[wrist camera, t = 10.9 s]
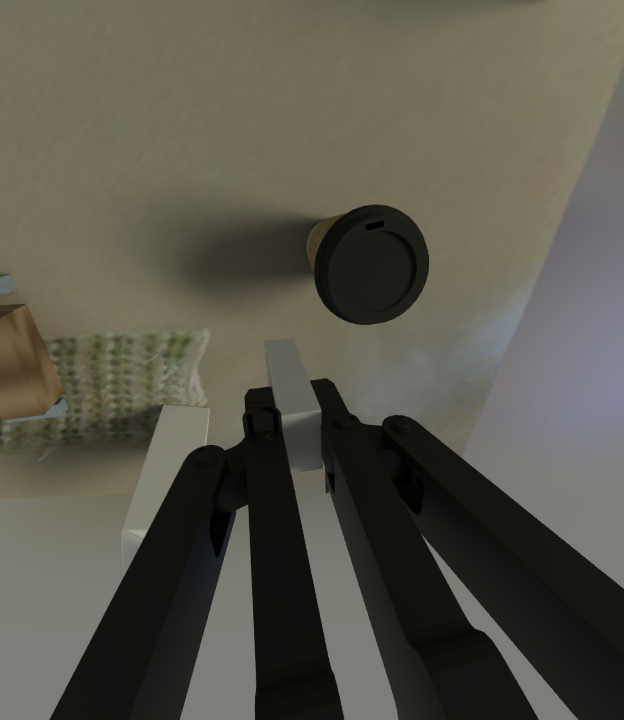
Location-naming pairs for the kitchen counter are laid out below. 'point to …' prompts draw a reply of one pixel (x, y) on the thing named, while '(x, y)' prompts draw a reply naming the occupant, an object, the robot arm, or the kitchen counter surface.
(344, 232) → the coffee cup
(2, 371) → the t block
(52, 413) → the t bay
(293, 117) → the kitchen counter surface
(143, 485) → the milk
